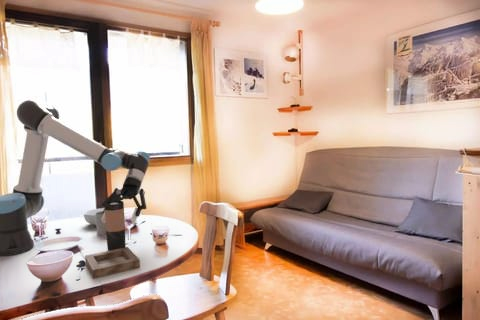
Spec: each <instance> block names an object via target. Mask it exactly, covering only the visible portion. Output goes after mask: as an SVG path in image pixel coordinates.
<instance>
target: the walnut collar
mask: <svg viewBox="0 0 480 320" xmlns="http://www.w3.org/2000/svg"><path fill="white" fill-rule="evenodd" d="M84 261H85V262H84V263H85V266H86V267H87V269H88V271H89V272H90V274H91V277H92V279H97V278H102V277H105V276H109V275H113V274H118V273H123V272H125V271H130V270H131V271H132V270H135V269H138V268H141V263H140V262H141V261H140V258H139V257H138V256H137V255H136V254H135V253H134V252H133V251H132V250H131V248H129V246H125V248H120V249H115V250H110V251H108V250H107V251H102V252H97V253H92V254H88V255H85V256H84Z"/></svg>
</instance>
